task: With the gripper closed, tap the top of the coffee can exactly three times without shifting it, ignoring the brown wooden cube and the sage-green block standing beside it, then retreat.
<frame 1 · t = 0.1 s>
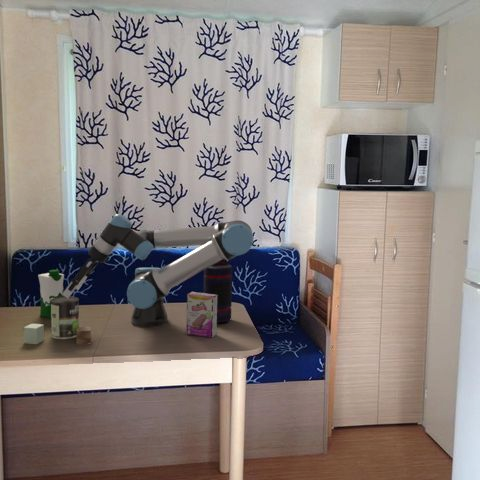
hand: (70, 292, 213), 15 cm above the table, tool tilted 35°, fingers open, 13 cm apart
coffee can: (65, 335, 209), on the table
candy bar box: (201, 335, 213), on the table
dark capped bottle: (216, 320, 233), on the table
brown wooden cube: (83, 341, 202), on the table
milk carton: (52, 315, 235), on the table
sage block: (34, 341, 201), on the table
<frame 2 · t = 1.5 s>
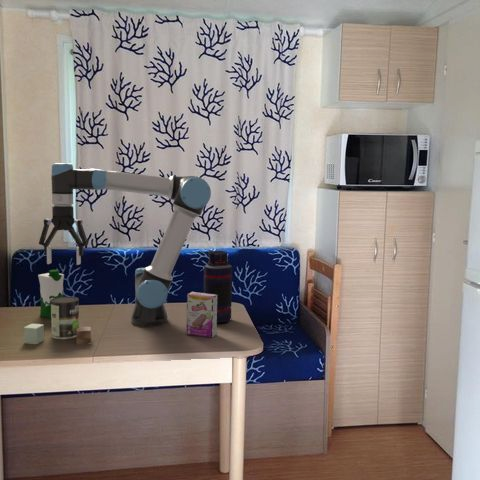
hand: (64, 263, 205), 28 cm above the table, tool pointing down, fingers open, 10 cm apart
nothing on the table moved.
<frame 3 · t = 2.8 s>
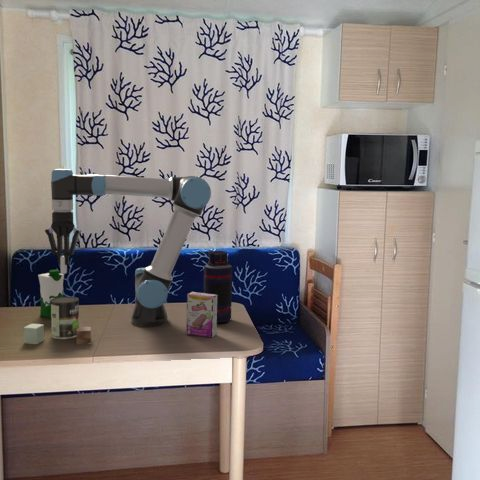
hand: (63, 273, 205), 24 cm above the table, tool pointing down, fingers closed
nothing on the table moved.
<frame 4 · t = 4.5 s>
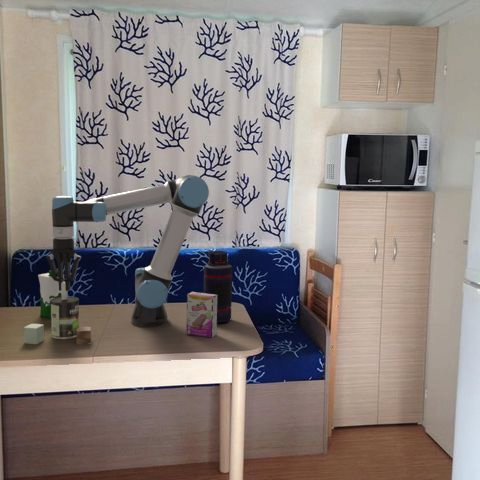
hand: (64, 298, 207), 14 cm above the table, tool pointing down, fingers closed
coffee can: (65, 335, 209), on the table, touching gripper
everything else where it was.
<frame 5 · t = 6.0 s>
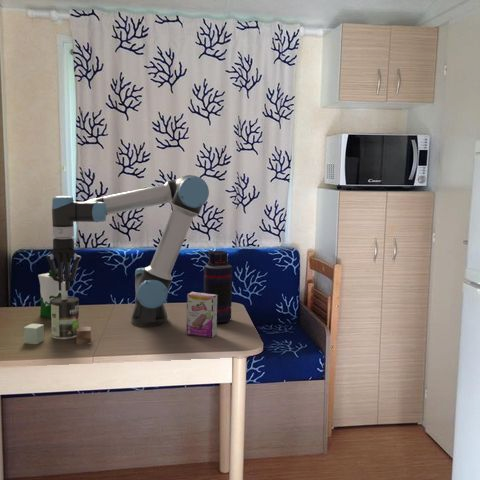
hand: (64, 298, 207), 14 cm above the table, tool pointing down, fingers closed
coffee can: (65, 335, 209), on the table
everything else where it was.
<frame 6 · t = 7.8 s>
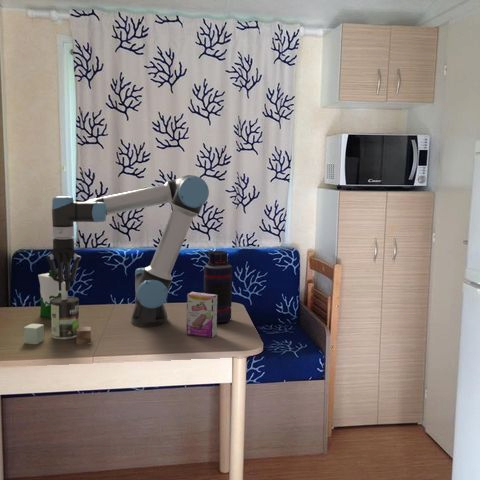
hand: (64, 298, 207), 14 cm above the table, tool pointing down, fingers closed
coffee can: (65, 335, 209), on the table, touching gripper
everything else where it was.
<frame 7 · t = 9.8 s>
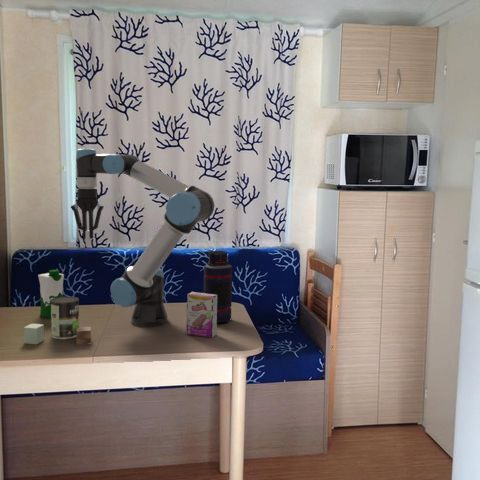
hand: (88, 246, 220), 32 cm above the table, tool pointing down, fingers closed
coffee can: (65, 335, 209), on the table
everything else where it was.
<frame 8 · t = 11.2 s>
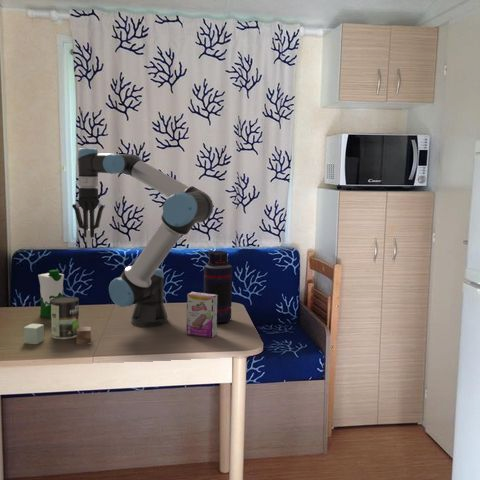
hand: (89, 245, 221), 32 cm above the table, tool pointing down, fingers closed
nothing on the table moved.
at the end: coffee can moved 0.2 cm from its start; coffee can tilted 0°; coffee can touching table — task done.
